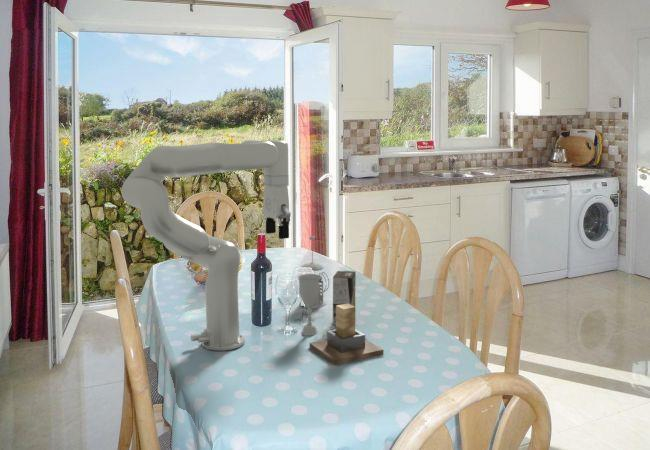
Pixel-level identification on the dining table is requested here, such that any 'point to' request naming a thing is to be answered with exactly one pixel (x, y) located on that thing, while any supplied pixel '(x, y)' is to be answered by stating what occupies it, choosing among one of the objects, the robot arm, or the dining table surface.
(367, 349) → the board
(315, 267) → the french press
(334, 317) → the coffee box
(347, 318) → the rail post
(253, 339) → the dining table surface
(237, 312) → the robot arm
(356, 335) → the grey square socket
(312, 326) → the chalice
